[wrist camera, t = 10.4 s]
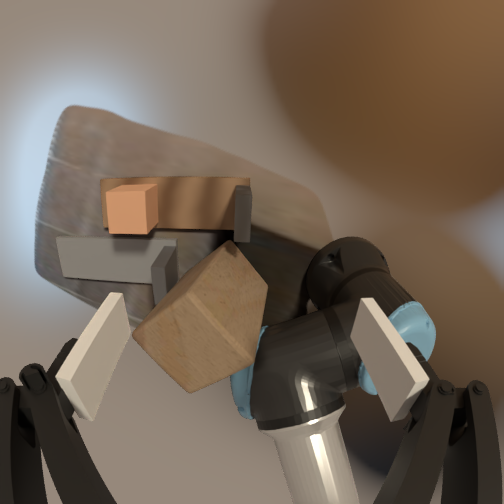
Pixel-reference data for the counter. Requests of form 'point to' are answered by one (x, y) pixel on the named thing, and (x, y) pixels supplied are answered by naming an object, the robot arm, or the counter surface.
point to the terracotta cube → (132, 209)
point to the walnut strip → (196, 202)
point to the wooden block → (207, 321)
